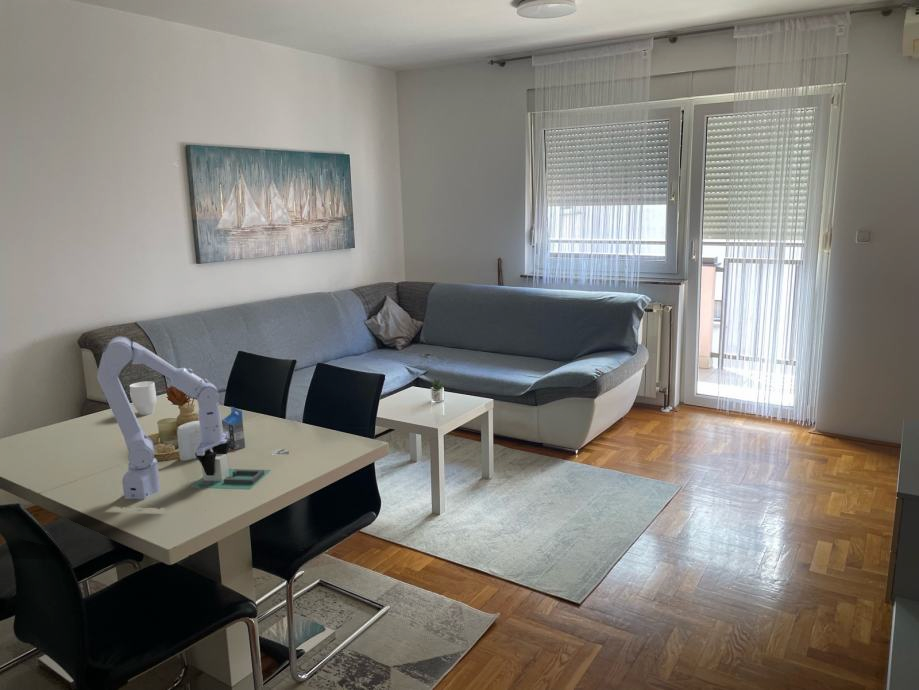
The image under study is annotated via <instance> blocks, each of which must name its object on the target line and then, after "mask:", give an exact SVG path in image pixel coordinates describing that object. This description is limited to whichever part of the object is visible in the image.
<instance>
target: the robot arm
mask: <svg viewBox="0 0 919 690" xmlns="http://www.w3.org/2000/svg"><path fill="white" fill-rule="evenodd" d="M129 362H131V365H145V366H147V367H148V368H151V369H152V370H154V371H156V372H157V373H160V374H161V375H163V376H165V377H167V378H169V380H170V385H171V386H173V387H174V388H175V389H177V390H179V391H181V392H182V393H184V394H186V395H187V396H189V397H191V398H196V401H197V404H198V412H197V413H198V421H199V422H200V431H201V440H202V441H201V443H200V445H199V447H198V448H197V449H196V453H195V456H196V457H197V458H196V459H198V461H199V462H200V464H201V467H202V466H203V468H204V471H205V473H206V475H208V476H213V475H214V472H215V457H216V454H227V455H228V452H229V448H230V444H231V442H230V441H227V439H228V432H223V427H222V417H221V409H220V408H221V407H220V403H219V400H220V394H219V391H218V389H217V387H216V385H214V384H213V383H212V381H209V380H208V379H207V378H201V377H200V376H198V375H197V374H195V373H194V370H193V369H191V368H190V367H189V368H187V367H180V368H176V367H175V366H174V365H172V364H170V363H169V362H167V361H166V360H164V358H162V357H160V356H158V354H156V353H154V352H153V351H151V350H149V349H148V348H146V347H145V346H143V345H141V344H139V343H138V342H135V341H131V340H130V339H129V338H128V337H126V336H120V335H119V336H116V337H113V338H112V339H110V340H109V341H108V343H106V346H105V347H104V349H103V352H102V355H101V358H100V361H99V365H98V369H97V373H96V379H97V381H98V383H99V386H100V388H101V390H102V392H103V395H104V397H105V399H106V401H107V403H108V405H109V407H110V409H111V412H112V414H113V417H114V418H115V421H116V423H117V424H118V427H119V430H120V431H121V434H122V435H123V439H124V441H125V446H126V448H127V451H128V456H127V459H128V465H127V468H128V469H127V472H126V473H125V474H124V475H123V477H122V481H121V483H122V489H123V495H124V496H123V497H124V500H146V499H147V498H149V497H151V496H152V495H154V494H156V493H158V492H159V491H160V490H161V488H162V487H161V480H160V472H159V466H158V465H159V464H158V459H157V458H155V452H154V449H155V448H154V447H155V446H154V442H153V440H152V439H151V438H150V437H149V436H147V435H146V433H145V431H144V430H143V428H142V427H141V424H140V422H139V420H138V418H137V416H136V414H135V412H134V408H133V407H132V404H131V402H130V400H129V398H128V395H127V394H126V391H125V389H124V387H123V385H122V382H121V380H120V378H119V376H120V374H121V372H122V370H123V369H124V367H125V366H126V365H127V364H129ZM211 448H212V450H213V452H211V451H210V449H211Z"/></svg>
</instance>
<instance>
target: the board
mask: <svg viewBox="0 0 919 690" xmlns="http://www.w3.org/2000/svg"><path fill="white" fill-rule="evenodd" d="M228 471H229V476H228V477H226V478H225V479H224V480H223V481H205V480H204V479H203V476H202V477H201V478H200V479H198V480H197V481H196V482H194V483H192V485H190V486H189V488H190V489H191V488H194V489H221V490H223V489H224V490H226V489H229V490H251V489H253V488H254V487H255V486H256V485H257V484H258V483H259V482H260V481H261V480H262V479H263V478H264V477H266V475H268V473H270V472H271V471H272V470H271V469H247V468H228Z"/></svg>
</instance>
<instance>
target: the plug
mask: <svg viewBox="0 0 919 690" xmlns="http://www.w3.org/2000/svg"><path fill="white" fill-rule="evenodd" d="M201 469H202V470H201V471H202V472H201V473H202V477H203V479H204V480H205V481H223V480H224V479H225V478H226V477H228V476H229V471H228V469H229V465H228V453H227V454H216V457H215V472H214V475H213V476H208V475H206V473H205V471H204V468H203V466H202V465H201Z"/></svg>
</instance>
